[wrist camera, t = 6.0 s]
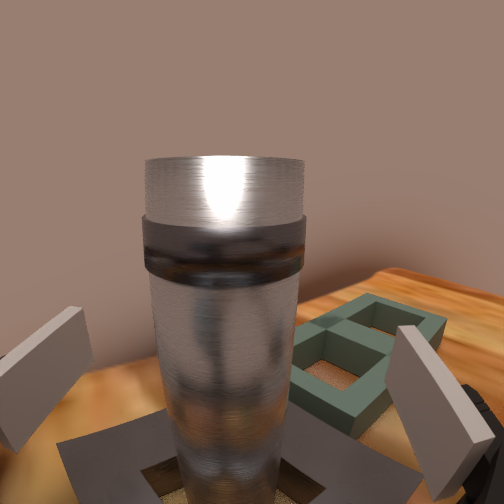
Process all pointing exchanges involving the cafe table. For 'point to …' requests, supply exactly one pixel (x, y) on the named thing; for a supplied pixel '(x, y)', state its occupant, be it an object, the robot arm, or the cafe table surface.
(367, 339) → the frame
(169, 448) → the socket block
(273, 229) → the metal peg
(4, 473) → the cafe table surface
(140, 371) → the cafe table surface
